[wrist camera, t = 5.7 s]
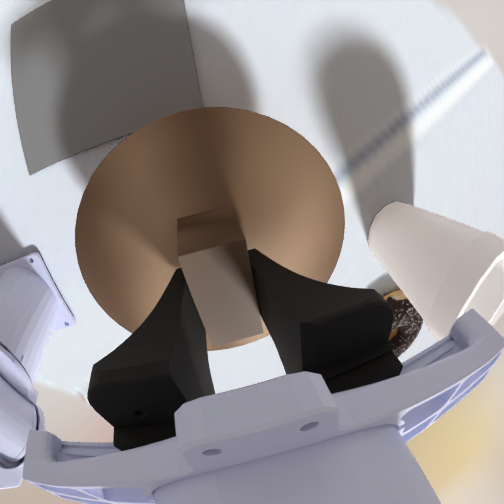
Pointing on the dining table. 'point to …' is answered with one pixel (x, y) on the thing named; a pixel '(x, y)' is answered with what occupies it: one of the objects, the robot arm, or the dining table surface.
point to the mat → (98, 73)
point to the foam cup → (439, 264)
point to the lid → (206, 217)
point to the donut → (403, 322)
